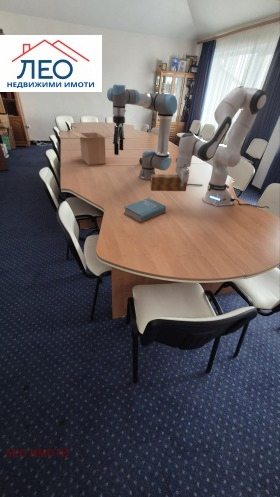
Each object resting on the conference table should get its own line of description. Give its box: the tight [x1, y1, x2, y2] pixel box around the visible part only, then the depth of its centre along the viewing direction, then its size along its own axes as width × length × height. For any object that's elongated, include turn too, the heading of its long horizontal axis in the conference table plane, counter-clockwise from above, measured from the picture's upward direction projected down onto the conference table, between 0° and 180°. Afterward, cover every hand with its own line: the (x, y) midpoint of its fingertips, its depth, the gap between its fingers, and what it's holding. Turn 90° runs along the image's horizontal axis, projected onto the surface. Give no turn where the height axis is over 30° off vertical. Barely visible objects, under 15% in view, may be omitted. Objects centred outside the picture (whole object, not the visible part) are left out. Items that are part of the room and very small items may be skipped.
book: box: [123, 197, 167, 223], centre depth 146 cm, size 23×16×5 cm
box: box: [70, 129, 114, 166], centre depth 229 cm, size 44×36×27 cm
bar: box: [149, 173, 188, 192], centre depth 144 cm, size 23×5×9 cm, turn 94°
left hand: (118, 152), depth 148 cm, fingers open, 13 cm apart
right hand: (180, 184), depth 145 cm, fingers closed on bar, 5 cm apart
